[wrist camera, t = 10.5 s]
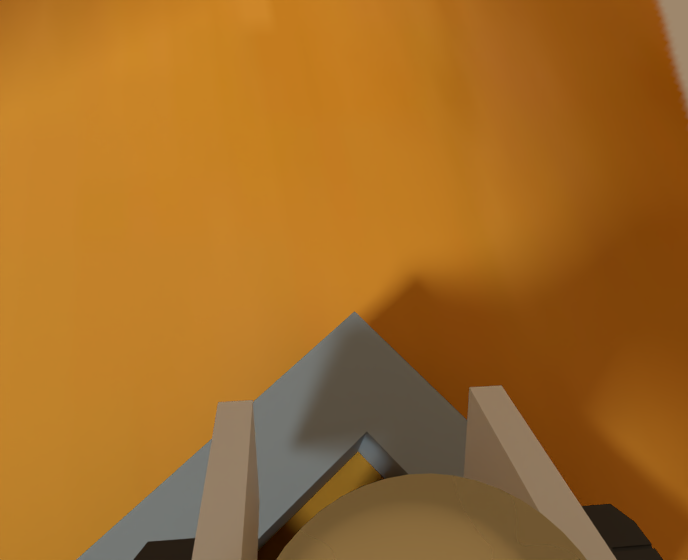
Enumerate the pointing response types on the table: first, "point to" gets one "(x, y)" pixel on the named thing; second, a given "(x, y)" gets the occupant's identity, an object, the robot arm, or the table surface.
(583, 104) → the table surface
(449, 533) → the brass cylinder
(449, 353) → the table surface
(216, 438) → the robot arm
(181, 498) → the jig plate
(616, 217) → the table surface
